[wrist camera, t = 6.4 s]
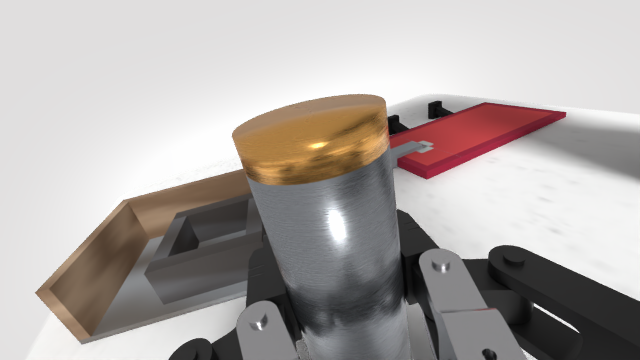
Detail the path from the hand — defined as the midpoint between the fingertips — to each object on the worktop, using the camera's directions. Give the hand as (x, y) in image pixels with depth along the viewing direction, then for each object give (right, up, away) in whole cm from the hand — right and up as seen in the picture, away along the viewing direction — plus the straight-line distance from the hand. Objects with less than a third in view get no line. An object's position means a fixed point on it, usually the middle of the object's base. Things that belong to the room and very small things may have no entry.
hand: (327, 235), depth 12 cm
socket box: (-8, -4, +12) cm, 15 cm away
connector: (+2, -7, +1) cm, 8 cm away
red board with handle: (+14, +7, +25) cm, 30 cm away
